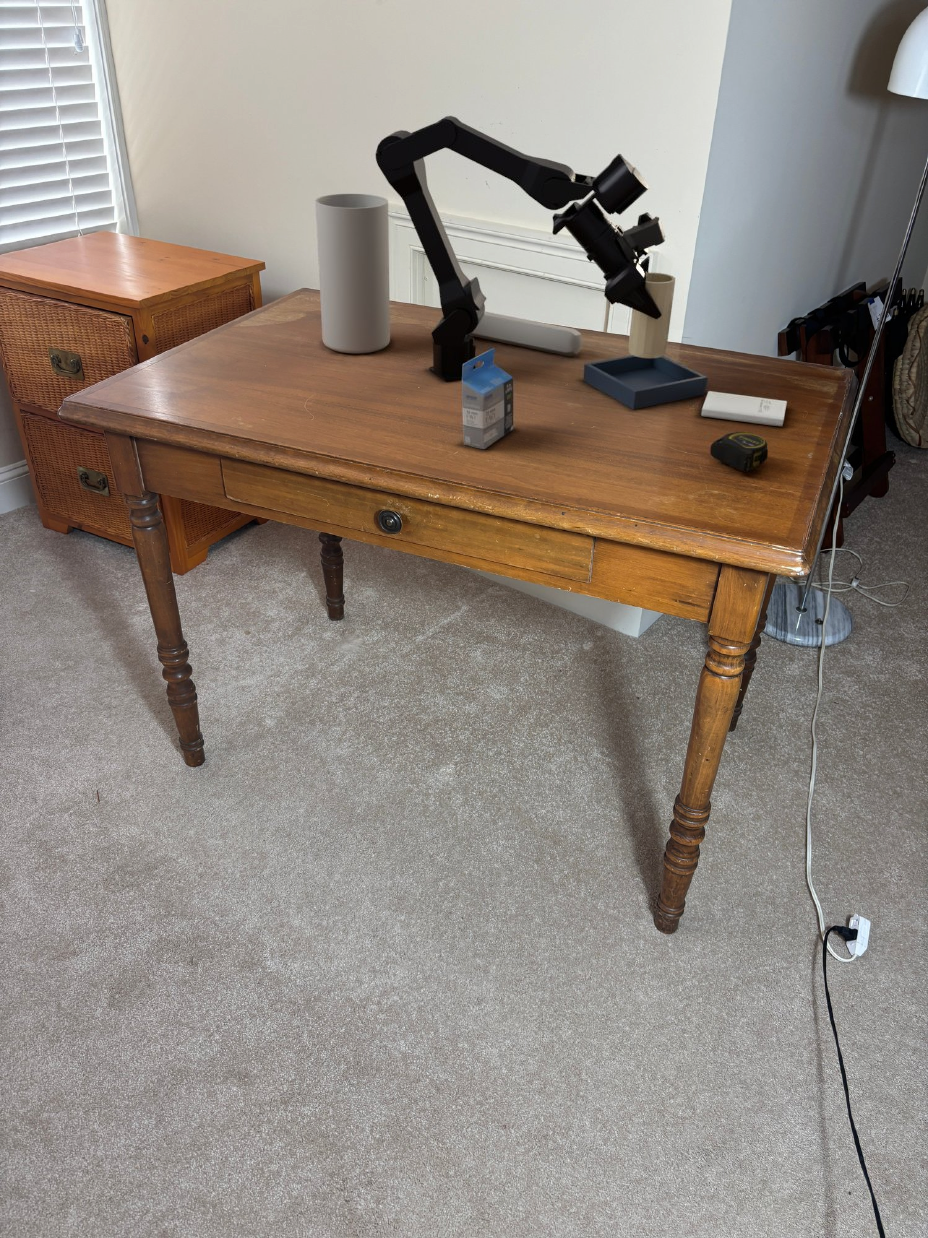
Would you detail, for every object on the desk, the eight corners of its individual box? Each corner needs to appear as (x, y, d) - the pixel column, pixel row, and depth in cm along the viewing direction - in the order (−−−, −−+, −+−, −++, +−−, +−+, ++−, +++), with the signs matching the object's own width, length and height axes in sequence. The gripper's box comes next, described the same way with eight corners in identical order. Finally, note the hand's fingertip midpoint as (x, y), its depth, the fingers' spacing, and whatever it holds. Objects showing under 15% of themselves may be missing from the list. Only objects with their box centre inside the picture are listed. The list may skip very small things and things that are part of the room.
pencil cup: (656, 360, 159) (666, 285, 152) (621, 353, 161) (629, 278, 155) (671, 350, 163) (681, 276, 156) (637, 343, 166) (645, 270, 159)
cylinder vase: (384, 356, 178) (382, 209, 164) (316, 352, 178) (308, 206, 165) (394, 334, 188) (392, 195, 174) (329, 331, 189) (323, 191, 175)
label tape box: (484, 450, 144) (485, 368, 137) (460, 444, 146) (461, 363, 139) (514, 430, 150) (516, 351, 143) (491, 424, 152) (492, 346, 145)
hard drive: (707, 399, 161) (785, 408, 158) (700, 417, 155) (782, 427, 151) (708, 389, 160) (787, 399, 157) (702, 407, 154) (784, 417, 151)
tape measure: (705, 461, 141) (709, 437, 139) (738, 450, 144) (742, 426, 142) (741, 478, 136) (746, 453, 134) (775, 466, 140) (779, 442, 138)
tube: (589, 330, 178) (471, 307, 189) (578, 328, 174) (458, 304, 184) (583, 360, 180) (466, 335, 191) (571, 358, 175) (453, 333, 186)
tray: (633, 409, 157) (635, 391, 156) (583, 380, 168) (584, 363, 166) (705, 394, 163) (707, 376, 161) (652, 367, 174) (654, 350, 172)
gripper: (634, 211, 142) (701, 293, 147) (641, 187, 157) (701, 262, 162) (576, 263, 148) (642, 341, 152) (588, 235, 163) (647, 307, 167)
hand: (660, 311), depth 158 cm, fingers closed on pencil cup, 6 cm apart
